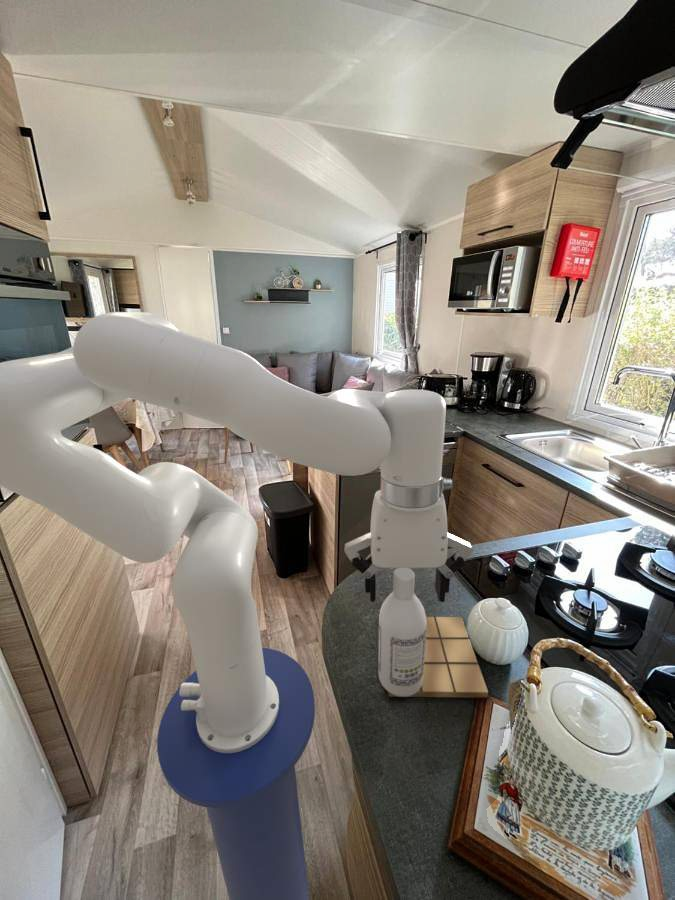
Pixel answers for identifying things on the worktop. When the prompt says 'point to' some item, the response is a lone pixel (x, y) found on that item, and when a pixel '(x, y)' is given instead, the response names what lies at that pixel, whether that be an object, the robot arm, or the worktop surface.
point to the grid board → (449, 662)
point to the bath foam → (402, 637)
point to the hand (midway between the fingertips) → (405, 595)
